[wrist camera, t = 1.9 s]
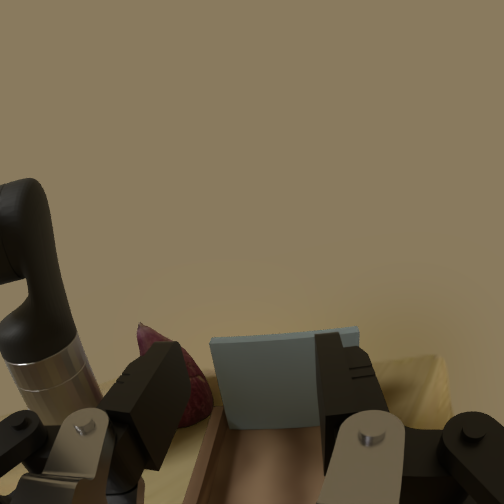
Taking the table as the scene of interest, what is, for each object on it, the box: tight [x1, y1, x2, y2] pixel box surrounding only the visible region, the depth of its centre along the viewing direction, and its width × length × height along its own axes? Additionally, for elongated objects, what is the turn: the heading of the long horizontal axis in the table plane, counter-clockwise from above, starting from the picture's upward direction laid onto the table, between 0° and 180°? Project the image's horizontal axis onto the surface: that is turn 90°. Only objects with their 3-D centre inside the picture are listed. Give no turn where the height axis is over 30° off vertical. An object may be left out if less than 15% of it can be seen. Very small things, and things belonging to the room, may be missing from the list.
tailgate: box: [209, 326, 359, 429], centre depth 32 cm, size 14×2×12 cm, turn 83°
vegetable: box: [137, 322, 213, 428], centre depth 40 cm, size 10×10×15 cm
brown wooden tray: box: [183, 406, 325, 504], centre depth 24 cm, size 18×18×5 cm
